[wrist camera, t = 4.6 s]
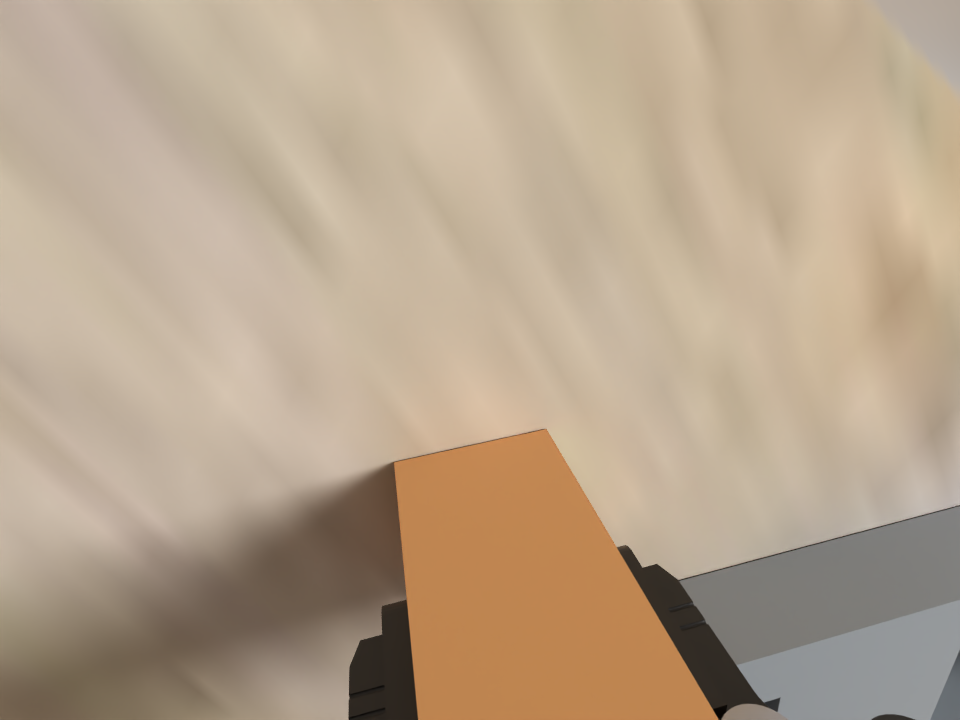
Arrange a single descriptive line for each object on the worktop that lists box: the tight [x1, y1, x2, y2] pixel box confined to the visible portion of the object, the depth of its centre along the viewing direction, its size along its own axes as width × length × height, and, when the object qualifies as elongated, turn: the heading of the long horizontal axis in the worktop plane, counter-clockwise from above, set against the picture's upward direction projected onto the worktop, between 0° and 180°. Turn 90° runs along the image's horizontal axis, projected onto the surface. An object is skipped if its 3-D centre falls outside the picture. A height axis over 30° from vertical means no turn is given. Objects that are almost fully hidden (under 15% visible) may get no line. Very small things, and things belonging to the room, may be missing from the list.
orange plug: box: [394, 429, 719, 720], centre depth 10 cm, size 4×4×10 cm
